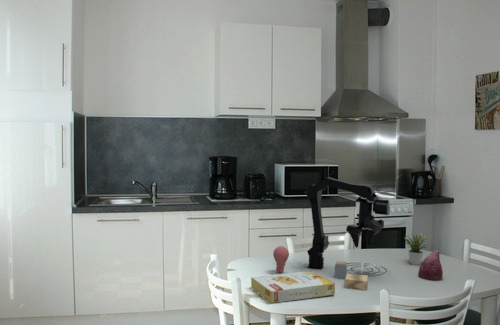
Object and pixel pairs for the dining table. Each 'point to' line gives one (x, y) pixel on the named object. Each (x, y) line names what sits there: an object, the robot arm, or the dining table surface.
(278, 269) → the light bulb
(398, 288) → the dining table surface
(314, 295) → the cereal box
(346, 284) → the block
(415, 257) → the house plant
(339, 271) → the grey box
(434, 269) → the vegetable
